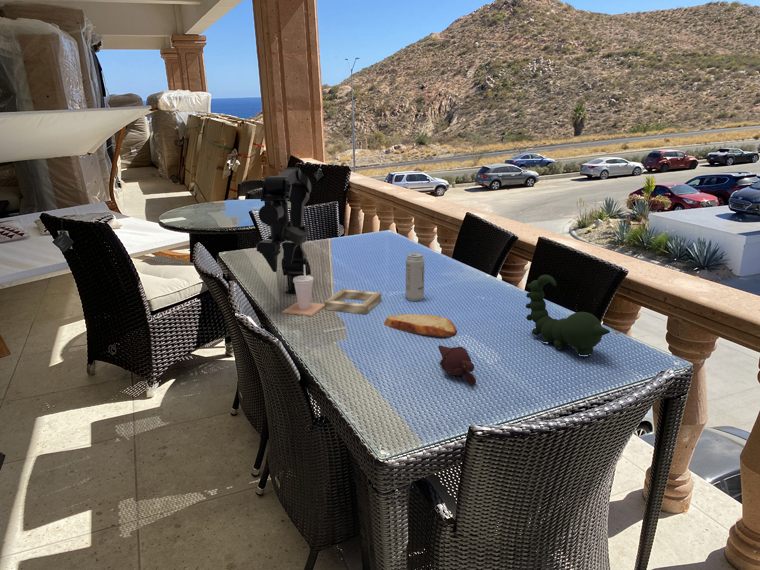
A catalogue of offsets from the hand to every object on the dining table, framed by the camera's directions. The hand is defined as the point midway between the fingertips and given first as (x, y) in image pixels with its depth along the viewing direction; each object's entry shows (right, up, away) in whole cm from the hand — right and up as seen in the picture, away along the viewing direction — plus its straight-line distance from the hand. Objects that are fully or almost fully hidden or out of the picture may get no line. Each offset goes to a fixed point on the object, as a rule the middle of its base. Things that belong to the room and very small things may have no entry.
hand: (282, 268), depth 165 cm
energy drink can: (+42, -10, +11) cm, 45 cm away
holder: (+22, -12, +5) cm, 26 cm away
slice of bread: (+42, -18, -14) cm, 48 cm away
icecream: (+48, -26, -41) cm, 68 cm away
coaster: (+7, -13, +2) cm, 15 cm away
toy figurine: (+78, -22, -27) cm, 86 cm away
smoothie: (+7, -13, +2) cm, 14 cm away
